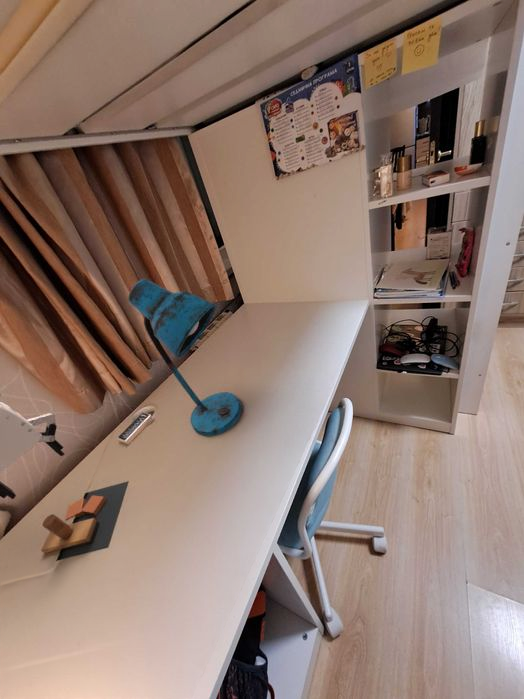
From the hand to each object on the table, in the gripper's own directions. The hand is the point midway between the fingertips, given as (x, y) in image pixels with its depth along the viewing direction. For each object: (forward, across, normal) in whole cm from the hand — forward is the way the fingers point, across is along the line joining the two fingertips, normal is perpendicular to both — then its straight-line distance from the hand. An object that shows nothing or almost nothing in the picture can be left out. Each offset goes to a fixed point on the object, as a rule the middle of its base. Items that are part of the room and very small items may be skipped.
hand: (37, 472), depth 58 cm
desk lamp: (+22, -38, +8) cm, 45 cm away
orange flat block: (+21, +1, -9) cm, 23 cm away
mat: (+22, +2, -5) cm, 23 cm away
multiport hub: (+22, -23, -17) cm, 36 cm away
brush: (+21, +5, -3) cm, 22 cm away
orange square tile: (+21, -2, -5) cm, 22 cm away
